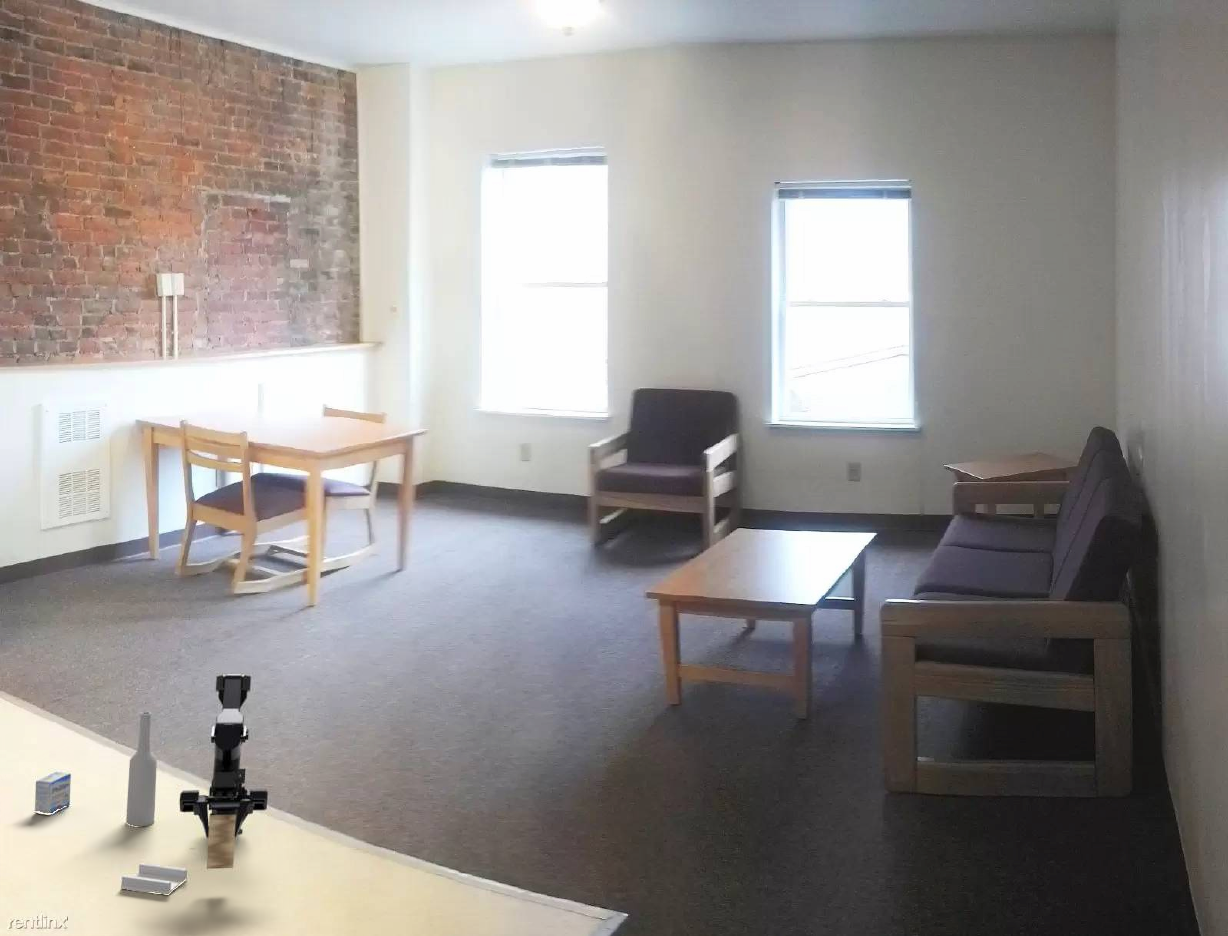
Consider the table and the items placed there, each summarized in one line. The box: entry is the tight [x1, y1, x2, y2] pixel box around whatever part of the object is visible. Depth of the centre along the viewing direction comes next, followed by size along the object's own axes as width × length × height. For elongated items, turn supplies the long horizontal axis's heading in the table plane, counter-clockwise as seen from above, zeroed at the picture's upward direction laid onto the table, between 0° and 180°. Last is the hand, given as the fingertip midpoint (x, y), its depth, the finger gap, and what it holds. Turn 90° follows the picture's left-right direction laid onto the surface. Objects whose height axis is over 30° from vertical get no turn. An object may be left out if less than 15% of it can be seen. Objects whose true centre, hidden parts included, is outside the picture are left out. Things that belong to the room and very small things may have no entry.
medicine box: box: [34, 771, 72, 813], centre depth 301 cm, size 8×4×9 cm, turn 168°
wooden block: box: [206, 814, 236, 870], centre depth 263 cm, size 6×3×11 cm, turn 106°
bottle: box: [125, 711, 158, 827], centre depth 297 cm, size 7×7×28 cm
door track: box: [120, 862, 188, 894], centre depth 263 cm, size 11×8×3 cm
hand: (221, 837), depth 261 cm, fingers closed on wooden block, 5 cm apart
